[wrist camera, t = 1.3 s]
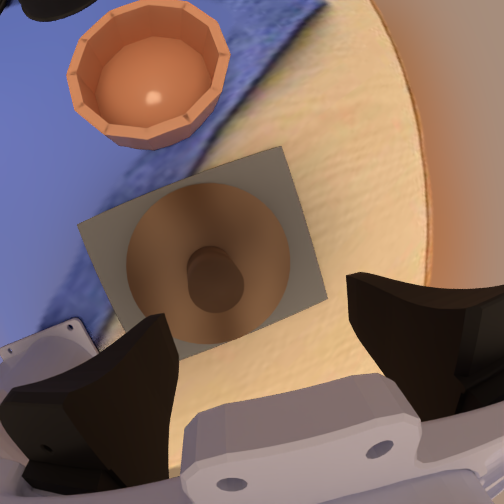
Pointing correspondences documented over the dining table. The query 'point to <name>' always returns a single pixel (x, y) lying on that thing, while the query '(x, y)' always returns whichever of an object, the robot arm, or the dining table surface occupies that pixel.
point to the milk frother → (50, 8)
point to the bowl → (149, 72)
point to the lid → (208, 262)
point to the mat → (233, 174)
